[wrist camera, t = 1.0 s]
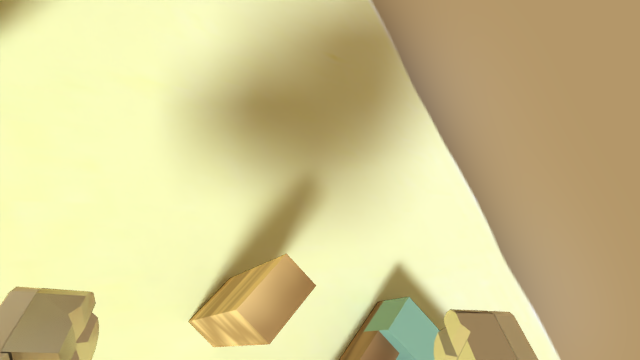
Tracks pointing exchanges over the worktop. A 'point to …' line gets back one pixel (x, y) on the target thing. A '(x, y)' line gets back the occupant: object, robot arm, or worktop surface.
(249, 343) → the oak plank
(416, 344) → the walnut sill
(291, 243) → the worktop surface
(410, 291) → the worktop surface
